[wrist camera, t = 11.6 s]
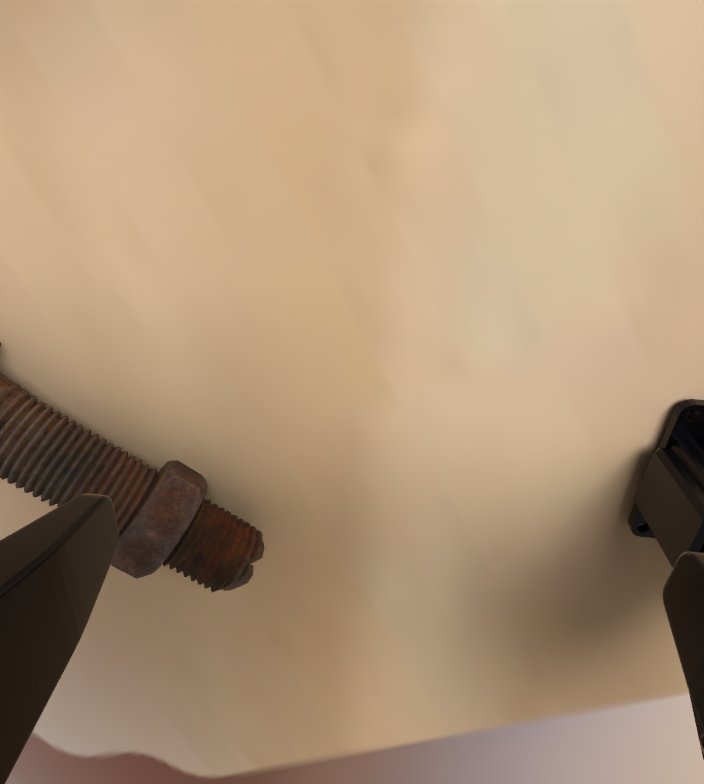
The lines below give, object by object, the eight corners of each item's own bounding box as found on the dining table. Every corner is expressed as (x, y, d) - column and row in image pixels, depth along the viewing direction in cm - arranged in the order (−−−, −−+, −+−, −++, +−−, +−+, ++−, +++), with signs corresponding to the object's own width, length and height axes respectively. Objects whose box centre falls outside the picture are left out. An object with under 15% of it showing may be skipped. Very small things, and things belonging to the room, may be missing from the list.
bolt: (256, 516, 27) (-31, 345, 23) (299, 500, 23) (-39, 290, 19) (198, 630, 24) (-146, 456, 20) (236, 634, 20) (-185, 417, 16)
